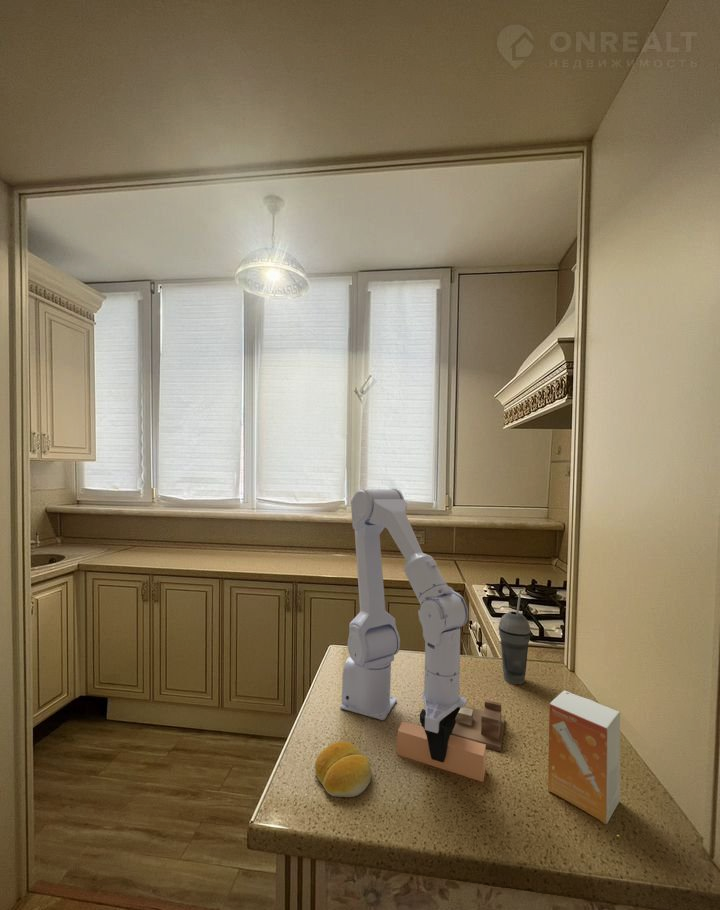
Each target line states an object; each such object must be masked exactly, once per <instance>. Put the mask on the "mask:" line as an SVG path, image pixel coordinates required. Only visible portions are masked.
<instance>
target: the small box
mask: <svg viewBox="0 0 720 910" xmlns="http://www.w3.org/2000/svg"><path fill="white" fill-rule="evenodd" d="M548 706H549V707H548V709H549V711H548V754H547V755H548V757H547V758H548V759H547V762H548V763H547V766H548V767H547V771H548V772H547V790H548V791H549V792H550V793H552V794H555V795H556V796H557V797H560V798H561V799H563V800H565V801H566V802H567V803H570V804H572V805H573V806H575V807H577V808H579V809H580V810H582V811H584V812H585V813H587V814H589V815H590V816H591V817H594V819H595V818H596V819H597V820H598V821H600V822H601V823H603V824H605V825H608V823H609V821H610V819H611V817H612V816H613V814H614V811H615V810H616V808H617V806H618V805H619V803H620V801H621V800H620V798H621V711H618V710H615V709H613V708H611V707H608V706H606V705H604V704H600V703H598V702H596V701H595V700H592V699H589V698H586V697H584V696H580V695H577V694H574V693H573V692H570V691H567V690H563V691H561V692H560V693H559V694H558V695H557V696H555V698H554V699H553V700H552V701H551V702H550V703H549V705H548Z"/></svg>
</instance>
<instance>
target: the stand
mask: <svg viewBox="0 0 720 910" xmlns="http://www.w3.org/2000/svg"><path fill="white" fill-rule="evenodd" d="M505 717H506V716H505V715H502V703H500V702H496V701H493V700H487V699H484V708H483V709H482V710H481V709H478V708H474V707H469V706H466V707H465V708H460V710H459V712H458V714H457V716H456V718H455V720H456V724H455V727H454V729H453V731H452V735H454V736H457V737H461V738H464V739H468V740H471V741H475V742H478V743H482V744H485V745H486V749H490V750H493V751H497V752H502V747H503V746H502V745H503V736H504V729H505V728H504V727H505V720H506V719H505ZM420 724H421V723H420ZM420 726H422V724H421V725H420ZM422 727H423V726H422Z"/></svg>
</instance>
